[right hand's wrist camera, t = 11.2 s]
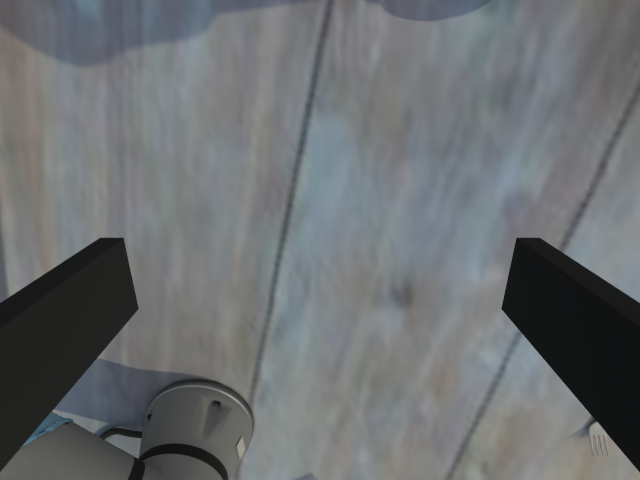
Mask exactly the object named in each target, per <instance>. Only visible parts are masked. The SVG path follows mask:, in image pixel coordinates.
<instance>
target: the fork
mask: <svg viewBox="0 0 640 480" xmlns="http://www.w3.org/2000/svg"><path fill="white" fill-rule="evenodd" d="M597 435H598V436H599V440H600V446H601V450H602V455H603V446H602V435H603V436H604V441H605V446H606V451H607V455H608V448H607V433H606V432H605V431H604V429H603V428H602V427H601V426H600V425H599V423H598V422H597V421H596V422H594V423H593V424H591V425H590V427H589V438H590V444H591V449H592V454H593V456H594V453H593V443H592V436H594V439H595V445H596V450H597V454H598V445H597ZM598 456H599V454H598ZM603 456H604V455H603ZM608 456H609V455H608Z"/></svg>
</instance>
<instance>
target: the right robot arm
mask: <svg viewBox="0 0 640 480" xmlns="http://www.w3.org/2000/svg"><path fill="white" fill-rule="evenodd" d="M137 310H138V304H137V299H136V295H135V290H134V285H133V281H132V276H131V271H130V267H129V262H128V257H127V253H126V248H125V243H124V239H123V238H99V239H98V240H96V241H95V242H93V243H92V244H90V245H89V246H87V247H86V248H84V249H83V250H81V251H80V252H78V253H76V254H75V255H73V256H72V257H70V258H69V259H67V260H66V261H64V262H63V263H61V264H60V265H58V266H57V267H55V268H53V269H52V270H50V271H49V272H47V273H46V274H44V275H43V276H41V277H40V278H38V279H37V280H35V281H34V282H32V283H30V284H29V285H27V286H26V287H24V288H23V289H21V290H20V291H18V292H17V293H15V294H14V295H12V296H11V297H9V298H7V299H6V300H4V301H3V302H1V303H0V480H229V479H230V477H231V476H232V474H233V472H234V471H235V469H236V467H237V465H238V464H239V462H240V460H241V458H242V456H243V455H244V453H245V452H246V451H247V449H248V447H249V444H250V442H251V439H252V435H253V430H254V417H253V414H252V411H251V409H250V407H249V405H248V404H247V403H246V401H245V400H244V399H243V398H242V397H241V396H240V395H239V394H237V393H236V392H235V391H233V390H231V389H230V388H228V387H226V386H224V385H221V384H218V383H215V382H211V381H205V380H186V381H181V382H177V383H174V384H171V385H169V386H167V387H166V388H164V389H163V390H161V391H160V392H159V393H158V394H157V395H156V396H155V398H154V399H153V401H152V403H151V405H150V407H149V408H148V411H147V414H146V416H145V420H144V425H143V432H140V431H132V430H127V429H123V428H114V429H110V430H108V431H106V432H105V433H104V434H102V435H101V436H100V437H98V436H96V435H95V434H93V433H91V432H89V431H88V430H86V429H84V428H83V427H81V426H79V425H77V424H76V423H74V422H73V420H72V419H70V418H63V417H61V416H59V415H57V414H55V413H53V412H52V410H53V409H54V408H55V407H56V406H57V405H58V403H59V402H60V401H61V400H62V399H63V397H64V396H65V395H66V394H67V393H68V392H69V390H70V389H71V388H72V387H73V386H74V384H75V383H76V382H77V381H78V380H79V379H80V377H81V376H82V375H83V374H84V373H85V371H86V370H87V369H88V368H89V367H90V366H91V364H92V363H93V362H94V361H95V360H96V358H97V357H98V356H99V355H100V354H101V353H102V351H103V350H104V349H105V348H106V347H107V346H108V344H109V343H110V342H111V341H112V340H113V338H114V337H115V336H116V335H117V334H118V333H119V331H120V330H121V329H122V328H123V327H124V325H125V324H126V323H127V322H128V321H129V320H130V318H131V317H132V316H133V315H134V314H135V312H136V311H137ZM502 310H503V311H504V312H505V314H506V315H507V316H508V317H509V318H510V320H511V321H512V322H513V323H514V324H515V325H516V327H517V328H518V329H519V330H520V331H521V333H522V334H523V335H524V336H525V337H526V338H527V340H528V341H529V342H530V343H531V344H532V346H533V347H534V348H535V349H536V350H537V351H538V353H539V354H540V355H541V356H542V357H543V358H544V360H545V361H546V362H547V363H548V364H549V366H550V367H551V368H552V369H553V370H554V371H555V373H556V374H557V375H558V376H559V377H560V379H561V380H562V381H563V382H564V383H565V384H566V386H567V387H568V388H569V389H570V390H571V392H572V393H573V394H574V395H575V396H576V397H577V399H578V400H579V401H580V402H581V403H582V405H583V406H584V407H585V408H586V409H587V410H588V412H589V413H590V414H591V415H592V416H593V418H594V419H595V420H596V421H597V422H598V423H599V425H600V426H601V427H602V428H603V429H604V431H605V432H606V433H607V434H608V435H609V436H610V438H611V439H612V440H613V441H614V442H615V443H616V445H617V446H618V447H619V448H620V449H621V451H622V452H623V453H624V454H625V455H626V456H627V458H628V459H629V460H630V461H631V462H632V464H633V465H634V466H635V467H636V468H637V469H638V471H639V472H640V303H639V302H637V301H636V300H634V299H633V298H631V297H629V296H628V295H626V294H625V293H623V292H622V291H620V290H619V289H617V288H616V287H614V286H613V285H611V284H610V283H608V282H606V281H605V280H603V279H602V278H600V277H599V276H597V275H596V274H594V273H593V272H591V271H590V270H588V269H587V268H585V267H583V266H582V265H580V264H579V263H577V262H576V261H574V260H573V259H571V258H570V257H568V256H567V255H565V254H564V253H562V252H560V251H559V250H557V249H556V248H554V247H553V246H551V245H550V244H548V243H547V242H545V241H544V240H542V239H541V238H517V239H516V243H515V248H514V253H513V257H512V262H511V267H510V271H509V276H508V281H507V285H506V290H505V295H504V299H503V304H502ZM114 434H120V435H124V436H128V437H136V438H142V439H141V446H140V454H139V458H138V459H137V458H135V457H134V456H132V455H130V454H129V453H127V452H125V451H123V450H121V449H119V448H118V447H116V446H114V445H112V444H110V443H109V442H107V441H105V439H106V438H107V437H109V436H111V435H114Z"/></svg>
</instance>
